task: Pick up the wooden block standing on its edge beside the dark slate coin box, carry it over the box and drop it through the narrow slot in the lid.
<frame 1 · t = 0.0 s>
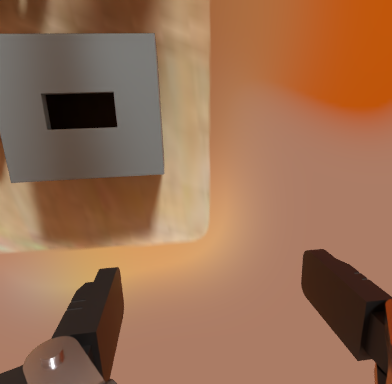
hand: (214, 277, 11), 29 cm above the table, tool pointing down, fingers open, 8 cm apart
coin box: (102, 114, 36), on the table
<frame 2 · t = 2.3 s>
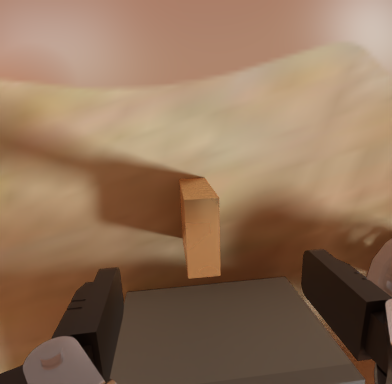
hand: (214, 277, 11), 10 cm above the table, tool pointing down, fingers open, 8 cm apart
coin box: (210, 358, 25), on the table
wooden block: (193, 208, 21), on the table
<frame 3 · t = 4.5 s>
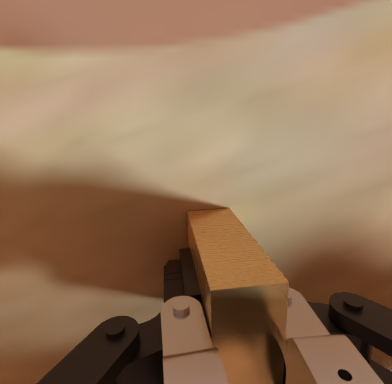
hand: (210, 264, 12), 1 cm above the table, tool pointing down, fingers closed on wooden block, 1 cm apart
wooden block: (209, 258, 13), on the table, touching gripper
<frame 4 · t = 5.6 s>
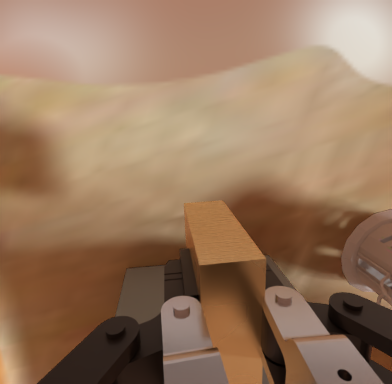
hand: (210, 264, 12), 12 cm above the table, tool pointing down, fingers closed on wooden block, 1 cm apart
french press: (374, 252, 28), on the table
coin box: (202, 329, 28), on the table
wooden block: (204, 246, 14), point 10 cm above the table, touching gripper
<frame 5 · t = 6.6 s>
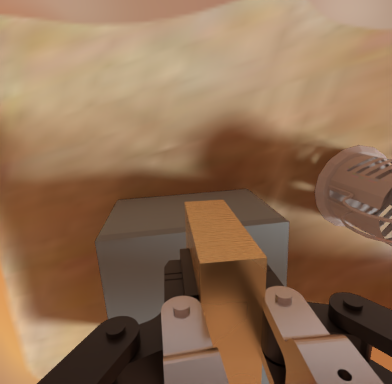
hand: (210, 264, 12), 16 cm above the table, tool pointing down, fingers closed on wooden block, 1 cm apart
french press: (346, 187, 31), on the table
coin box: (188, 260, 31), on the table
wooden block: (204, 245, 14), point 15 cm above the table, touching gripper
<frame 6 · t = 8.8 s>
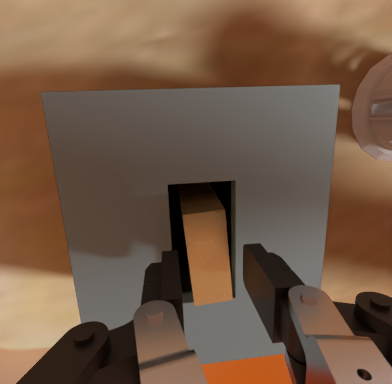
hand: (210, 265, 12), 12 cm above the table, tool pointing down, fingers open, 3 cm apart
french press: (390, 108, 24), on the table
coin box: (188, 196, 24), on the table
wooden block: (196, 216, 19), point 5 cm above the table
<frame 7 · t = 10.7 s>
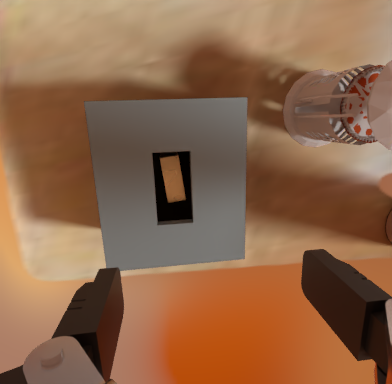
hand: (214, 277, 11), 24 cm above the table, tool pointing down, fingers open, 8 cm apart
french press: (311, 110, 35), on the table
coin box: (170, 170, 34), on the table
wooden block: (171, 170, 35), resting in coin box
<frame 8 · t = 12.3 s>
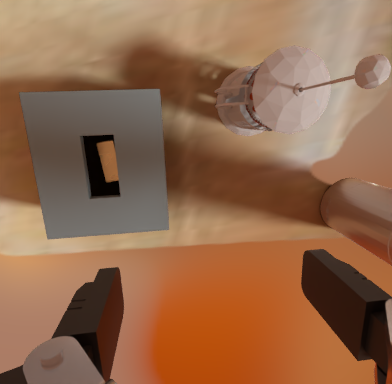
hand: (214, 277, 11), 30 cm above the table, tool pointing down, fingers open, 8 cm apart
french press: (242, 102, 39), on the table
coin box: (116, 156, 39), on the table
wooden block: (117, 156, 39), resting in coin box
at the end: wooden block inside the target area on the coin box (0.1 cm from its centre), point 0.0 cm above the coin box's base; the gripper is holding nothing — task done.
